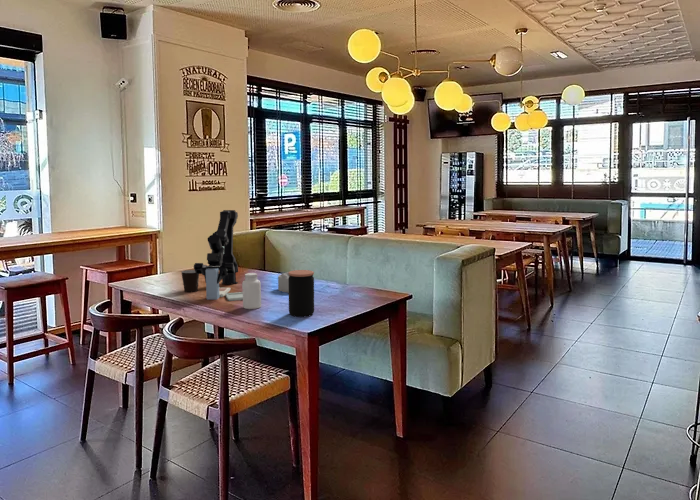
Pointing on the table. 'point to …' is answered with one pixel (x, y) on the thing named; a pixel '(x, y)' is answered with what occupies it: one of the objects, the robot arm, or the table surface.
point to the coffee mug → (190, 280)
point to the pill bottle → (251, 291)
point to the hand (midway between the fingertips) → (211, 283)
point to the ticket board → (223, 291)
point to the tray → (234, 296)
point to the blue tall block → (212, 283)
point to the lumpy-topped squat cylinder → (283, 282)
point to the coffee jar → (301, 293)
